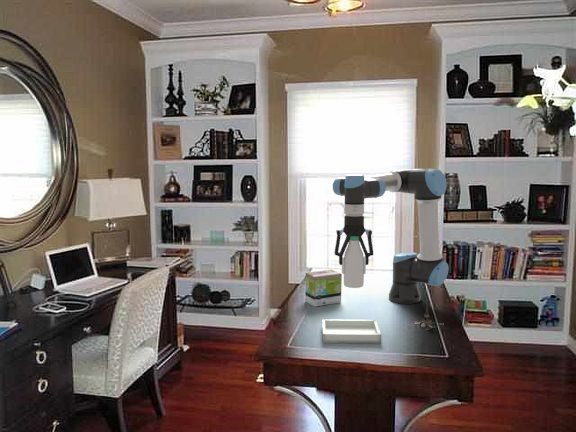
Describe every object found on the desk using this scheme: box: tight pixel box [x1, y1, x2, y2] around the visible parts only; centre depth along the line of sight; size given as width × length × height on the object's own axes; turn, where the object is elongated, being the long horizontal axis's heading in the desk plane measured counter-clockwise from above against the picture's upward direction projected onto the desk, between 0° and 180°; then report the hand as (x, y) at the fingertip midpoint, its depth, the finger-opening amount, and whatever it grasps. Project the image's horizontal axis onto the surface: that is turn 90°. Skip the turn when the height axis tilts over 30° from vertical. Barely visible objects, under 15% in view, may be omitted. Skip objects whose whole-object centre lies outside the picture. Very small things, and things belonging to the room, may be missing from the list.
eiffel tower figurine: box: [408, 298, 445, 331], centre depth 197 cm, size 15×10×13 cm
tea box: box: [304, 269, 343, 308], centre depth 231 cm, size 15×10×15 cm, turn 117°
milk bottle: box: [343, 236, 365, 289], centre depth 185 cm, size 8×8×20 cm
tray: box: [321, 318, 382, 344], centre depth 189 cm, size 22×16×4 cm
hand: (353, 272), depth 186 cm, fingers closed on milk bottle, 7 cm apart
